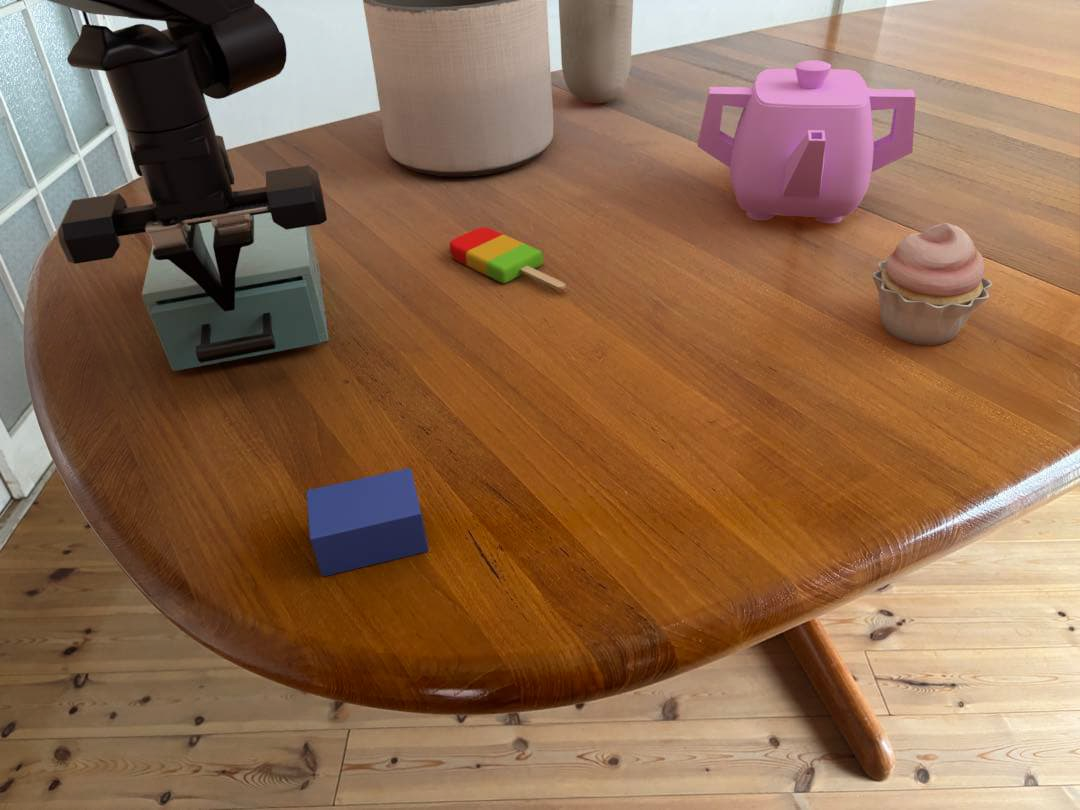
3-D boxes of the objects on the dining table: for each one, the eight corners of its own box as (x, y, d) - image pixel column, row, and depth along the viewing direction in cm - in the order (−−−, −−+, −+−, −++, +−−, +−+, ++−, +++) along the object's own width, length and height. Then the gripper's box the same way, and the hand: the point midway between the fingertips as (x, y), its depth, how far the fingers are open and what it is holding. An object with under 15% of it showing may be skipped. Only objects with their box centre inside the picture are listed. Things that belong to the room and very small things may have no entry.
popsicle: (485, 239, 90) (483, 223, 89) (583, 285, 81) (583, 267, 80) (445, 257, 87) (443, 241, 86) (543, 307, 78) (542, 289, 77)
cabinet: (328, 341, 75) (309, 265, 70) (172, 370, 73) (141, 294, 68) (318, 263, 87) (301, 194, 83) (183, 287, 85) (158, 217, 80)
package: (429, 551, 54) (421, 513, 52) (322, 577, 53) (309, 539, 51) (418, 504, 58) (410, 467, 55) (317, 527, 56) (305, 490, 54)
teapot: (799, 256, 83) (824, 105, 74) (676, 200, 95) (683, 64, 86) (916, 203, 91) (951, 61, 82) (789, 158, 103) (807, 30, 94)
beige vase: (550, 101, 125) (541, -114, 108) (601, 86, 130) (600, -123, 113) (591, 116, 119) (588, -110, 102) (643, 100, 124) (649, -119, 106)
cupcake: (842, 331, 72) (864, 226, 66) (891, 289, 77) (916, 188, 71) (949, 371, 67) (983, 261, 60) (994, 323, 72) (1030, 217, 66)
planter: (584, 157, 107) (581, -12, 94) (421, 197, 100) (394, 19, 87) (512, 110, 123) (501, -40, 111) (367, 141, 116) (338, -15, 104)
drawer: (324, 373, 69) (309, 314, 66) (169, 404, 67) (144, 344, 64) (312, 269, 84) (299, 216, 81) (185, 291, 82) (165, 237, 78)
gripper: (296, 72, 66) (336, 247, 76) (49, 103, 63) (123, 283, 72) (302, 114, 58) (346, 306, 67) (16, 153, 54) (105, 349, 64)
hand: (229, 308), depth 68 cm, fingers closed
